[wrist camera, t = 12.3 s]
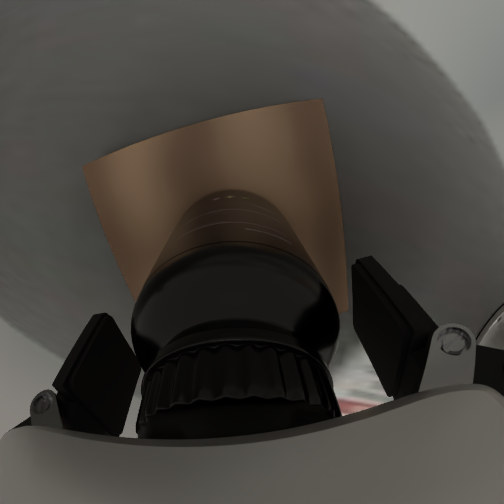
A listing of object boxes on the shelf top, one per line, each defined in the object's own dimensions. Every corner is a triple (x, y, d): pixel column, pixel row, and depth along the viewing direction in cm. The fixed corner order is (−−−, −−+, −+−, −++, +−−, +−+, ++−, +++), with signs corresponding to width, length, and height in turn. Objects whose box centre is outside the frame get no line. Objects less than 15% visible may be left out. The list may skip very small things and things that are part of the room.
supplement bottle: (290, 292, 17) (346, 473, 6) (183, 297, 17) (146, 482, 6) (293, 183, 15) (434, 330, 4) (167, 190, 14) (31, 348, 3)
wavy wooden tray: (308, 103, 15) (322, 98, 13) (335, 288, 21) (348, 310, 18) (103, 160, 16) (81, 166, 13) (168, 325, 22) (161, 350, 19)
